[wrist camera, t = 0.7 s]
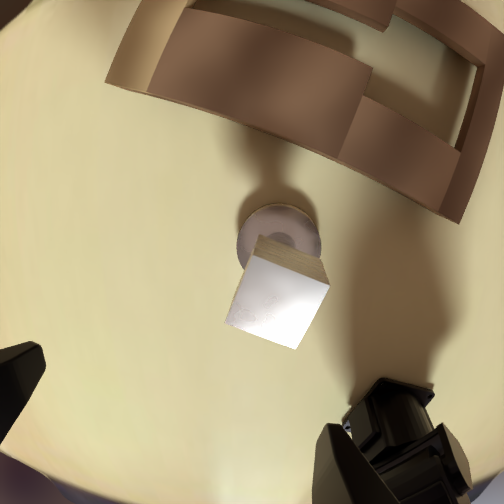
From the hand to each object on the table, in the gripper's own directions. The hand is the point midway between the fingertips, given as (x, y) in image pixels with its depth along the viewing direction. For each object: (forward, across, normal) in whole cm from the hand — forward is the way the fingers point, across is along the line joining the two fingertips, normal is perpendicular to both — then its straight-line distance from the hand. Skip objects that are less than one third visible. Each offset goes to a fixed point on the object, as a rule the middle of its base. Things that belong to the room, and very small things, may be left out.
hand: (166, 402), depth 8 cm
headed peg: (+13, -2, -2) cm, 13 cm away
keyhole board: (+13, -3, -15) cm, 20 cm away
